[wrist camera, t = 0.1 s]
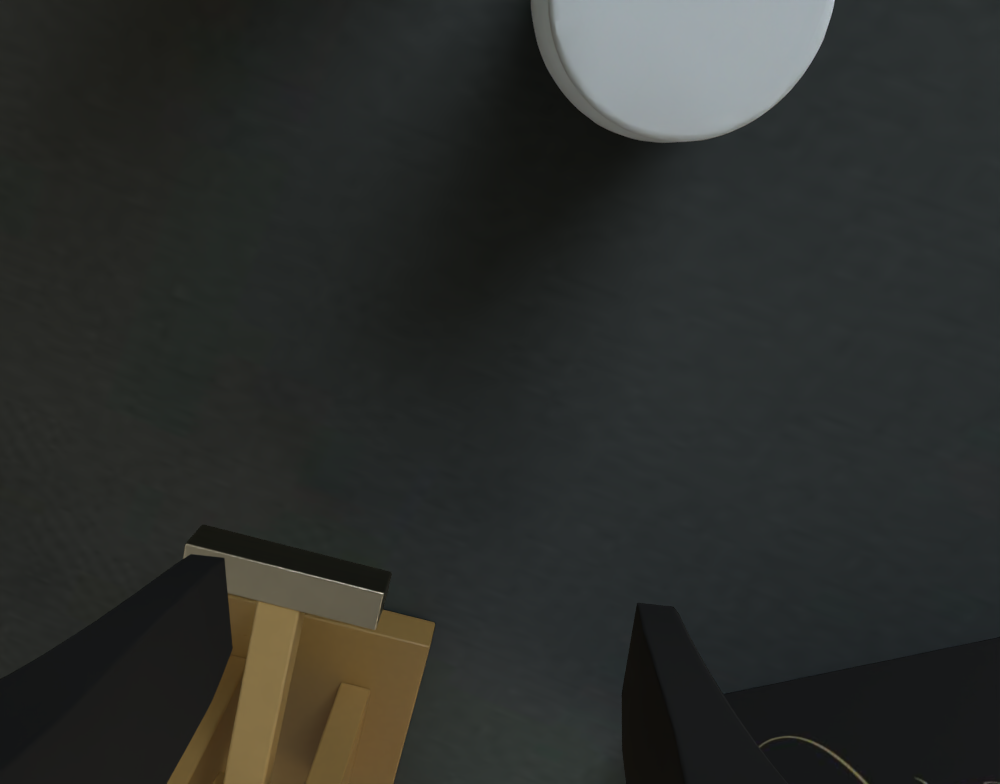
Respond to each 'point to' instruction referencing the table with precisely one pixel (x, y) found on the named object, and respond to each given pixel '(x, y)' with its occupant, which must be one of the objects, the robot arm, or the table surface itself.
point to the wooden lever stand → (323, 701)
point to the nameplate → (884, 720)
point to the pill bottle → (677, 60)
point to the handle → (281, 629)
